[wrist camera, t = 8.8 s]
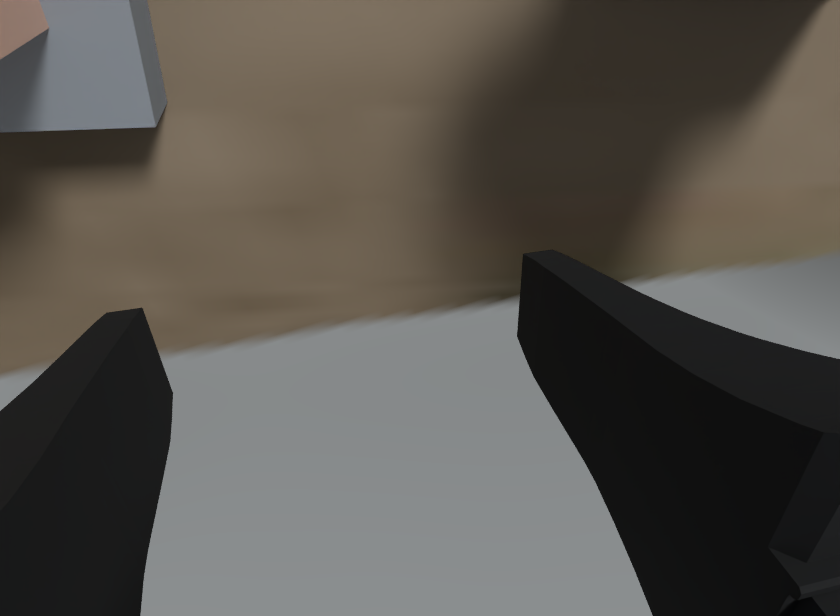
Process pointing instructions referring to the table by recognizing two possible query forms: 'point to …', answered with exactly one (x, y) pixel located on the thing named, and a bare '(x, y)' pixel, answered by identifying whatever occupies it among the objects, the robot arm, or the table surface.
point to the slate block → (84, 70)
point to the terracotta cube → (19, 23)
